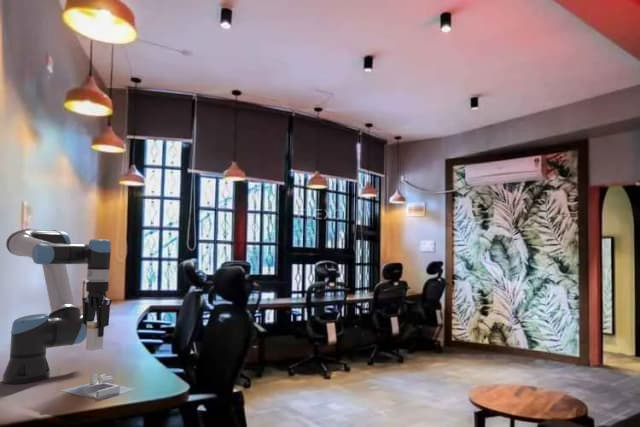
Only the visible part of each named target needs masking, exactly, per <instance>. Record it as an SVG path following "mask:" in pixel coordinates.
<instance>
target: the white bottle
mask: <svg viewBox="0 0 640 427" xmlns="http://www.w3.org/2000/svg"><path fill="white" fill-rule="evenodd" d="M96 327H97V319H96V320H95V319H94V321H88V322H87V333H86V338H85V350H86V351H98V350H102V349H103V346H104V342H103V343H102V345H101V346H95V329H96Z"/></svg>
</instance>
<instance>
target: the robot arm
mask: <svg viewBox="0 0 640 427" xmlns="http://www.w3.org/2000/svg"><path fill="white" fill-rule="evenodd" d="M111 242H112V241H110V240H109V239H99V238H95V239H93V238H92V239H90V240H89V241H88V244H87V243H86V244H85V243H82V244H81V243H80V244H79V243H71V239H70V236H69V235H68V233H66V232H65V231H62V230H55V229H53V230H47V229H31V228H29V229H27V228H26V229H21V230H16V231H14V232H13V233H11V234H10V235H9V236H8V238H7V239H6V243H5V245H6V246H5V247H6V249H7V251H8V252H9V253H11V254H12V255H14V256H17V257H26V258H27V257H28V258H31V259H32V260H33V263H34V264H36V265H41V266H42V271H43V275H44V280H45V286H46V290H47V296H48V301H49V306H50V310H51V311H50V313H49V314H47V313H35V314H30V315H26V316H25V315H24V316H21V317H18V318H16V319H14V320H13V322H12V325H11V331H10V334H11V336H10V347H9V348H10V349H9V351H10V352H9V359H8V362H7V365H6V368H5V369H4V372H3V375H2V383H5V384H8V385H9V384H11V385H12V384H13V385H17V384H18V385H20V384H30V383H36V382H40V381H43V380H47V379H49V378H50V376H51V369H50V367H49V362H48V360H47V349H49V348H57V347H66V346H73V345H78V344H82V343H83V342H84V341H86V333H87V322H88V321H95V319H96V320H97V327H96V329H95V346H101V345H102V343H103V344H104V335H105V333H104V332H105V328H106V327H108V326H109V323H110V311H111V303H112V301H113V300H112V298H107V294H106V293H107V292H108V291H109V284H110V281H109V280H110V270H111V269H110V268H111V254H112V243H111ZM67 265H87V272H86V274H87V275H86V280H87V282H86V288H85V291H86V292H87V293H88V294H87V296H84V297H82V298H81V299H82V304H83V305H82V312H81V309H80V308H79V307H77V305H75V301H74V296H73V292H72V287H71V283H70V278H69V272H68V268H67ZM95 317H96V318H95Z"/></svg>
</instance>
